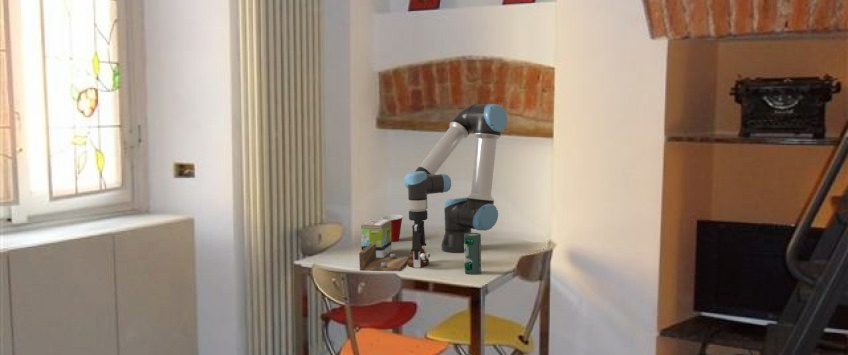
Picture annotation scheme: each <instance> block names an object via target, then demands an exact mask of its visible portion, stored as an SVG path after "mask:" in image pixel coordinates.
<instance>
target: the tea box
mask: <svg viewBox="0 0 848 355" xmlns="http://www.w3.org/2000/svg"><path fill="white" fill-rule="evenodd" d="M360 226H361V229H360V231H361V232H360V233H361V236H360V238H361V240H360V241H361V242H360V243H361V245H360V246H361V247H360V248H361V250H360V252H361V251H362V250H364V249H365V248H366V247H367V246H369V245H370V244H371V243H374V244H376V258H386V256H387V255H390V254H392V251H393V250H392V249H393V248H392V243H393V242H391V220H382V219H370V220H368V221H366V222H363V223H362V224H360Z"/></svg>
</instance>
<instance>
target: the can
mask: <svg viewBox="0 0 848 355" xmlns="http://www.w3.org/2000/svg"><path fill="white" fill-rule="evenodd" d="M481 235H482V234H481V233H479V232H471V233H466V234H464V252H463V253H464V273H465V275H480V274H482V236H481Z"/></svg>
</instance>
